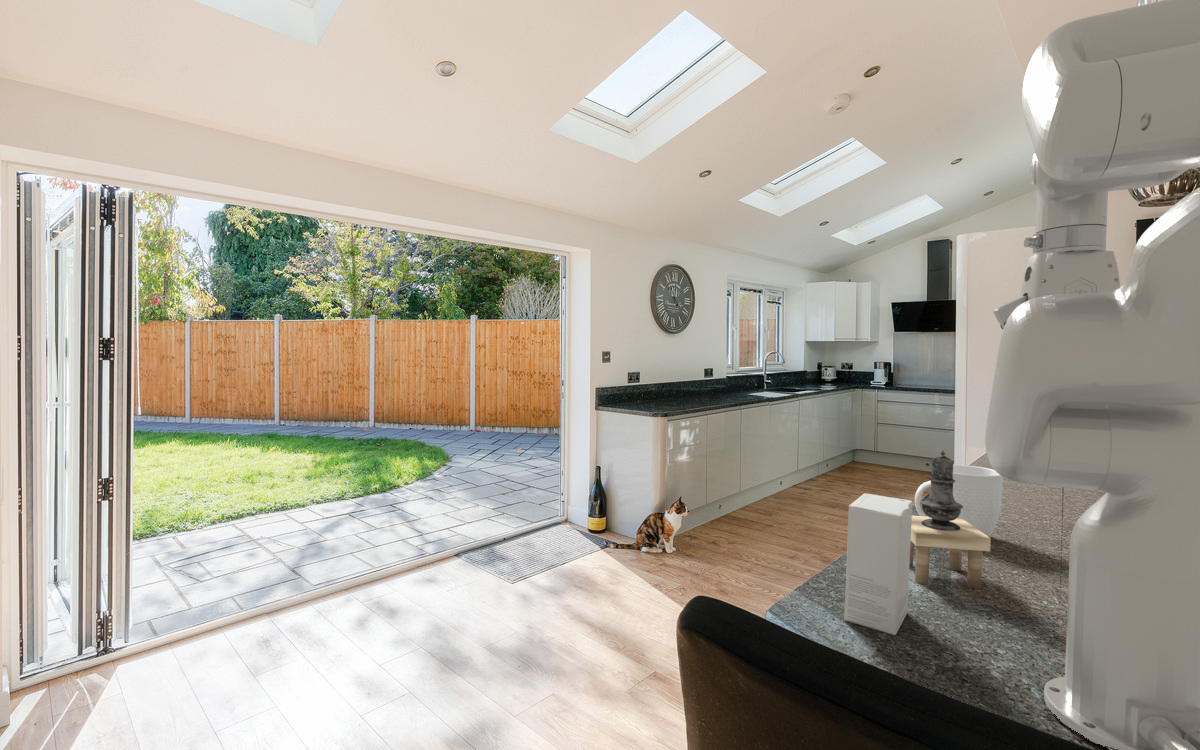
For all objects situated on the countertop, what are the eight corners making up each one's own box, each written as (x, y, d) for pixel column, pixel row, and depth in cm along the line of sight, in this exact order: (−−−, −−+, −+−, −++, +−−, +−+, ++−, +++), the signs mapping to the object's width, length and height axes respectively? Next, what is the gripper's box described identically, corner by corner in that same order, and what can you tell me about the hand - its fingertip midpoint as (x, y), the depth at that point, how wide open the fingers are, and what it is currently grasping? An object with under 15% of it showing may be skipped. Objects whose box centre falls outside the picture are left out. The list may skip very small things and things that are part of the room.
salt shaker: (969, 532, 84) (972, 454, 84) (927, 529, 85) (929, 452, 85) (953, 521, 90) (955, 448, 89) (913, 519, 91) (915, 446, 91)
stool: (988, 591, 82) (990, 538, 82) (914, 584, 84) (916, 532, 84) (960, 566, 92) (962, 518, 91) (895, 560, 94) (896, 514, 94)
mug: (927, 542, 103) (929, 473, 103) (902, 525, 114) (904, 462, 114) (1013, 547, 101) (1016, 476, 101) (980, 528, 112) (982, 465, 112)
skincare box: (859, 599, 79) (862, 491, 78) (912, 614, 75) (915, 499, 74) (842, 621, 72) (845, 503, 72) (898, 638, 68) (902, 513, 67)
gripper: (1011, 241, 74) (1006, 368, 75) (1166, 236, 70) (1160, 370, 71) (985, 251, 81) (981, 367, 82) (1124, 247, 77) (1119, 369, 78)
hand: (1064, 368), depth 76 cm, fingers open, 9 cm apart
